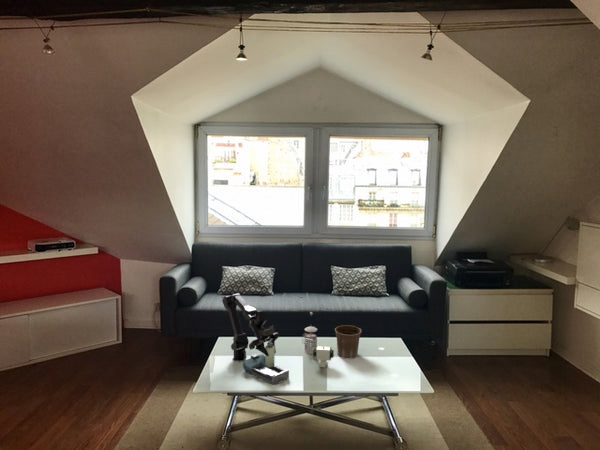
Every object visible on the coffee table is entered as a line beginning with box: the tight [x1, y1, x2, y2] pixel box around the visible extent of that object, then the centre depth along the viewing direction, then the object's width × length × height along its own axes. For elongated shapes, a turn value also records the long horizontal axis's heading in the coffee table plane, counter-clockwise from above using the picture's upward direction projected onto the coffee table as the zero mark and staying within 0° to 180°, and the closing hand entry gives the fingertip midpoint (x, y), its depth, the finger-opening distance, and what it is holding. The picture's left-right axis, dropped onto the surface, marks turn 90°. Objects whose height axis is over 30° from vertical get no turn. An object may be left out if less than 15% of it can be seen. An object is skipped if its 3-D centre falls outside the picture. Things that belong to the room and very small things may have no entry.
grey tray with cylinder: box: [242, 353, 290, 386], centre depth 245 cm, size 25×12×8 cm, turn 46°
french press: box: [301, 311, 318, 355], centre depth 277 cm, size 10×12×25 cm
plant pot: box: [334, 325, 362, 360], centre depth 272 cm, size 16×16×16 cm
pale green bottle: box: [264, 342, 276, 367], centre depth 242 cm, size 5×5×12 cm
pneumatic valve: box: [312, 345, 335, 368], centre depth 256 cm, size 6×12×12 cm, turn 83°
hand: (271, 354), depth 241 cm, fingers closed on pale green bottle, 5 cm apart
